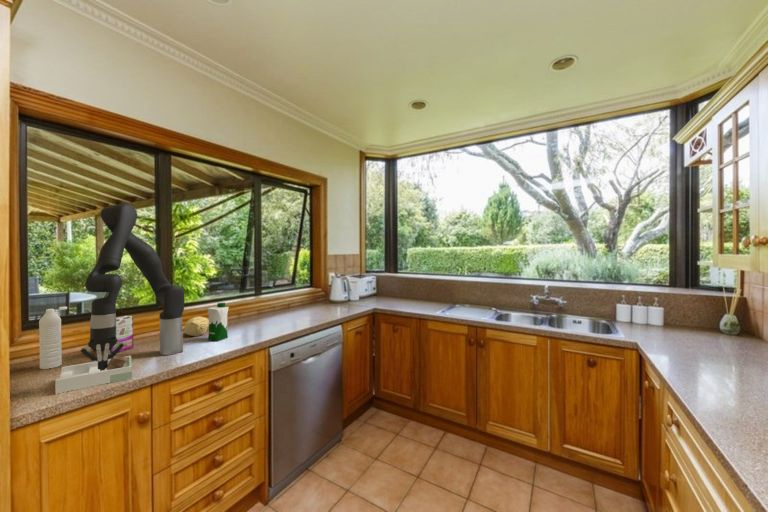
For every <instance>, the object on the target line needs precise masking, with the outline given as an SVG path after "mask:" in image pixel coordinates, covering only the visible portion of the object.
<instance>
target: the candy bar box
mask: <svg viewBox="0 0 768 512" xmlns="http://www.w3.org/2000/svg"><path fill="white" fill-rule="evenodd" d="M133 319H134V318H133V316H132V315H124V316H123V315H122V316H118V317H117V316H116V338H117V340H118V342H120V343H124V346H123V347H122V348H121V349H120V351H119V352H118V353H120V352H125V351H127V350H130V349H132V348H134V322H133V321H134V320H133ZM115 349H116V344H115V345H114V346H113V348H112V349H111V350H109V352H108V354H109V355H110V354H111V353H112V352H113V351H114V350H115Z"/></svg>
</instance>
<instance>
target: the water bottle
mask: <svg viewBox="0 0 768 512" xmlns="http://www.w3.org/2000/svg"><path fill="white" fill-rule="evenodd" d="M67 309H68V306H59V307H58V310H59V311H61V310H63V311H64V310H67ZM38 326H39V330H38V332H39V333H38V334H39V341H38V343H39V369H40V370H48V369H49V368H51V369H54V367H55V368H59V367H60V365H61V366H63V359H62V358H63V354H62V344H63V343H62V318H61V317H60V316H59V314H57V313H56V312H55V309H54V308H48V309H47V308H46V309H45V313H44V314H43V316H42V317H41V318H39V322H38ZM58 366H59V367H58Z"/></svg>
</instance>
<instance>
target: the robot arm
mask: <svg viewBox="0 0 768 512" xmlns="http://www.w3.org/2000/svg"><path fill="white" fill-rule="evenodd" d="M100 218H101V220H102V223H104V224H105V226H106V227H107V228H108V230H110V232H111V235H110V236H109V237H108V238H107V239H106V241H105V242H104V244H102V246H101V249H100V251H99V254H98V258H97V262H96V264H95V266H94V267H93V269H92V270H91V271H90V273H89V274H88V276H87V277H86V279H85V283H84V286H85V288H86V290H87V291H88V292H90V293H108V294H107V295H106V296H104V297H100V298H99V297H98V298H96V299H94V300H92V302H91V313H90V314H91V315H90V316H91V317H90V321H89V341H88V343H87V345H86V346H84V347H81V349H80V352H81V354H83V355H84V356H85V357H86V358H88V359H89V360H91V362H96V361H98V370H99V369H100V371H102V370H105V368H107V367H108V359H111V358H113V357H114V356H115V355H118V354H119V353H120V352H119V351H120V349H121V348H122V347H123V346H124V343H120V342H118V340H117V338H116V318H117V316H116V315H117V314H116V312H117V310H116V308H117V306H116V305H117V299H118V296H119V293H120V291H121V288H122V286H123V279H122V277H121V276H120V275H119V274H116V273H110V272H115V271H118V270H119V269H120V268H121V263H122V259H123V255H124V252H125V251H126V252H127V254H128V255H129V257H130V259H132V262H133V263H134V264H135V266H136V267H137V269H138V270H139V271H140V272H141V273H142V275H143V277H144V278H145V279H146V281H147V282H148V284H149V286H150V287H151V289H152V291H153V293H154V296H155V297H156V299H157V300H158V301H159V302H160V303H163V310H162V311H161V312H159V354H160V355H163V356H168V355H175V354H178V353H183V351H184V332H183V313H184V310H185V296H186V295H185V291H184V289H183V287H181V286H180V285H176V284H175V285H173V284H171V282H170V281H169V280H168V279H167V277H166V275H165V274H164V271H163V266H162V260H161V259H160V257H159V255H158V253H157V252H156V250H155V249H154V247H153V246H151V244H149V243H147V242H146V241H145V240H142V239H141V238H139V237H138V236H136V235H135V234H133V229H134V227H135V225H136V223H137V220H138V211H137V209H136V208H135V207H134V206H133V205H131V204H129V203H125V202H124V203H118V204H115V205H110V206H106V207H103V208H102V209H101V210H100ZM124 250H125V251H124ZM115 344H116V349H115V350H114V351H113V352H112V353H111V354H110V355H108V352H109V350H111V349H112V348H113V346H114V345H115ZM90 349H91V350H93V352H95V353H96V355H95V354H93V353H92V351H91V350H90Z"/></svg>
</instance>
